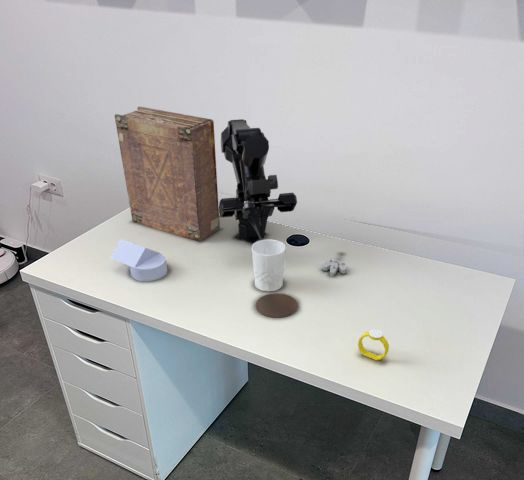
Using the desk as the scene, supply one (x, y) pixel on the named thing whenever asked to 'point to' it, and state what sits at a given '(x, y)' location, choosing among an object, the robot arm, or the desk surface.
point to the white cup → (268, 264)
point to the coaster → (276, 305)
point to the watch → (374, 335)
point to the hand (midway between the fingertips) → (262, 238)
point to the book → (170, 171)
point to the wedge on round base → (140, 261)
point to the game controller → (334, 266)
